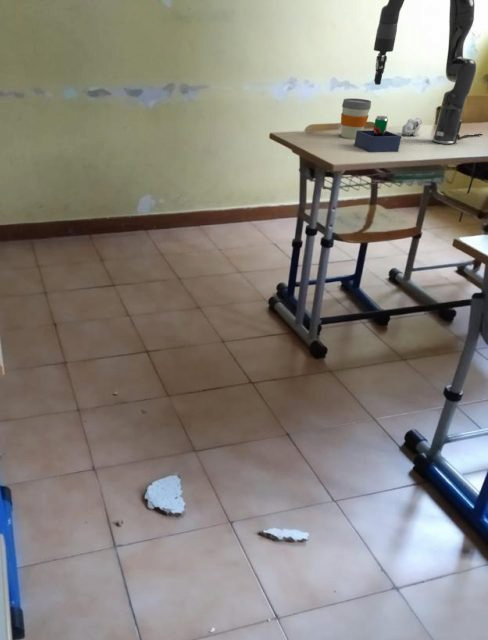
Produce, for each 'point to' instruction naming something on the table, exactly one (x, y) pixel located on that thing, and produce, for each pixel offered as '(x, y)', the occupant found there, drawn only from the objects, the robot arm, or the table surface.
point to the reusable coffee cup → (354, 116)
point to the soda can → (380, 126)
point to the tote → (377, 141)
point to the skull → (411, 126)
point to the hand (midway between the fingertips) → (377, 83)
